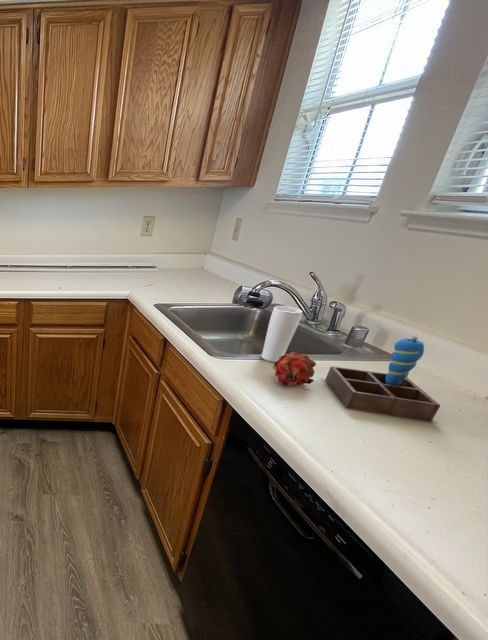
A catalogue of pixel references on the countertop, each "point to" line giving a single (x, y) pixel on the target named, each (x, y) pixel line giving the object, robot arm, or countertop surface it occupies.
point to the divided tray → (380, 394)
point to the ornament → (404, 359)
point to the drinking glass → (280, 331)
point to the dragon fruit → (294, 369)
